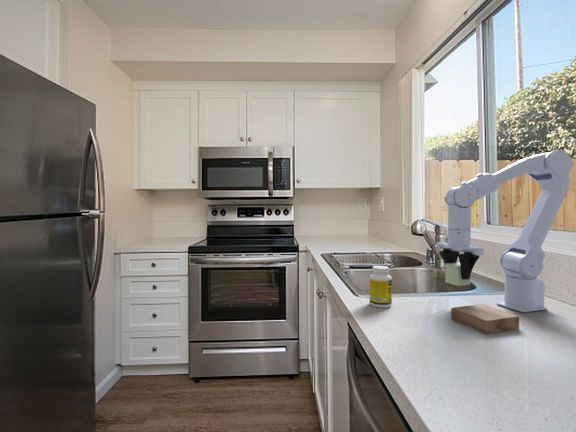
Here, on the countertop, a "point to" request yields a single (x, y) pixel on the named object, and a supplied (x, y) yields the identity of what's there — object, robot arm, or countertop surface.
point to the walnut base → (485, 318)
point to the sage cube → (455, 275)
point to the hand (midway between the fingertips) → (458, 277)
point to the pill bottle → (380, 287)
